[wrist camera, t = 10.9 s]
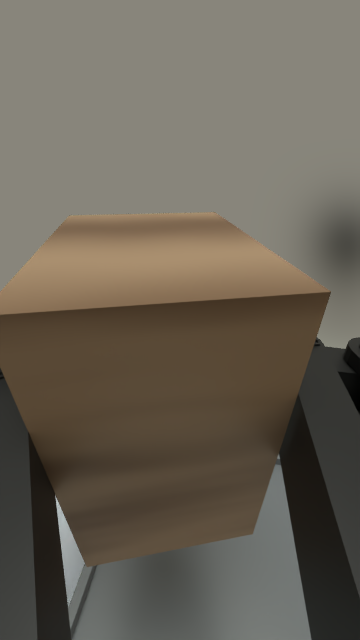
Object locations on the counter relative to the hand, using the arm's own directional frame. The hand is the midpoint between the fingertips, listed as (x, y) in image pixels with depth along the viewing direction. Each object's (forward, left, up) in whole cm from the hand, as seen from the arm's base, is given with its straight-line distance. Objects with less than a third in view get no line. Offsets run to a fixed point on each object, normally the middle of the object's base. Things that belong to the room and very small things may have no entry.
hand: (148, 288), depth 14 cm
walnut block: (+2, -5, -6) cm, 8 cm away
